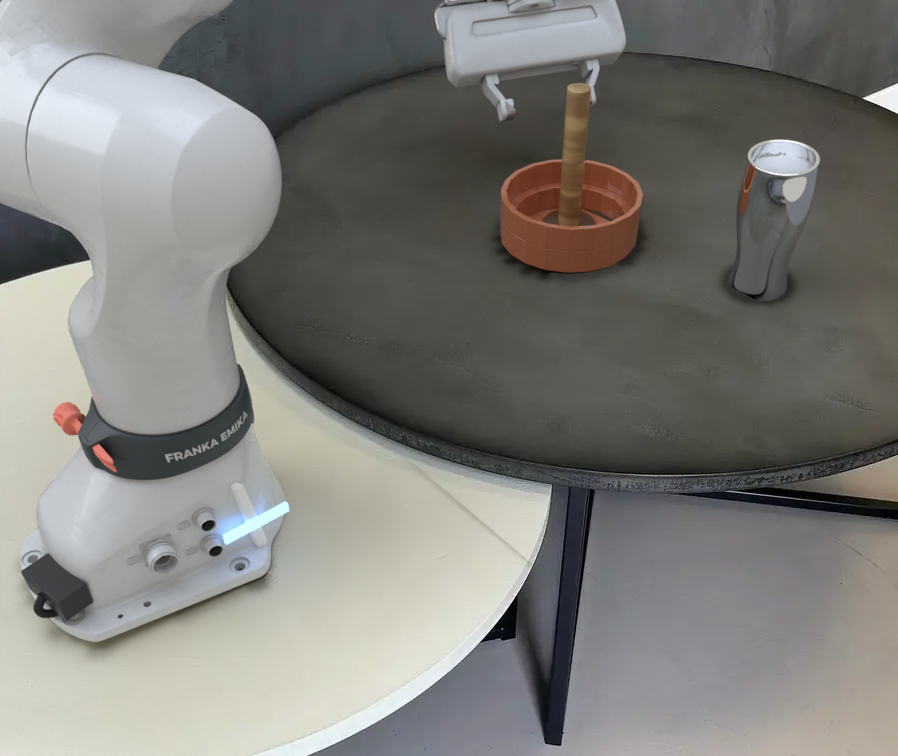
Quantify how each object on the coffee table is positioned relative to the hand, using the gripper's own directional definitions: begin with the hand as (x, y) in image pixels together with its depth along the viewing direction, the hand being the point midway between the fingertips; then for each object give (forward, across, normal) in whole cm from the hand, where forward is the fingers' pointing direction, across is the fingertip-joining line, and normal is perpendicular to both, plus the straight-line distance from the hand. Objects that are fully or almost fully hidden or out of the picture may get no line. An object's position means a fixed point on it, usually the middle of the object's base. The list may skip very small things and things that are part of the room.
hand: (548, 112), depth 109 cm
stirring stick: (+13, 0, +1) cm, 13 cm away
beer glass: (+25, +15, -9) cm, 30 cm away
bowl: (+14, 0, +2) cm, 14 cm away
